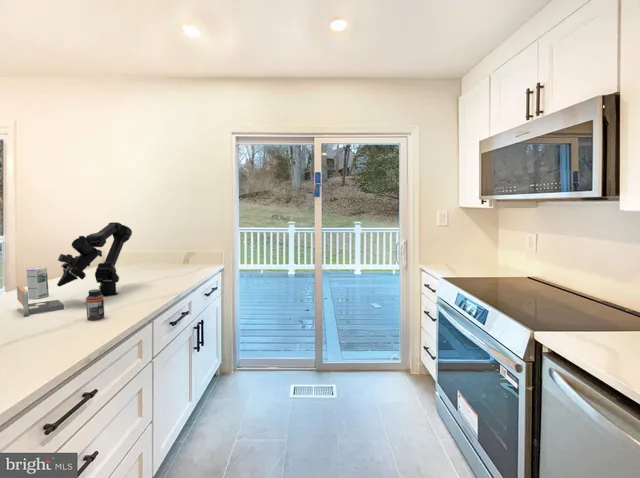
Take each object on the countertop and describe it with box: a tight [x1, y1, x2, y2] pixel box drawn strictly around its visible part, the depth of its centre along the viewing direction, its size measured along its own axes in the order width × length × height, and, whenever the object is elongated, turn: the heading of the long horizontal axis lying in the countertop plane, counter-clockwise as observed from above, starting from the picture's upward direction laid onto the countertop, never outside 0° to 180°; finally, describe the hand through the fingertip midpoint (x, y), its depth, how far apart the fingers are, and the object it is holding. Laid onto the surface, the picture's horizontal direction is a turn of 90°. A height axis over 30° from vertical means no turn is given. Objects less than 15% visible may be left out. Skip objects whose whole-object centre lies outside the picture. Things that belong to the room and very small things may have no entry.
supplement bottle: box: [85, 288, 105, 321], centre depth 147 cm, size 6×6×11 cm
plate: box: [22, 290, 65, 317], centre depth 158 cm, size 14×14×10 cm
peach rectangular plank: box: [16, 284, 28, 306], centre depth 155 cm, size 2×14×6 cm, turn 46°
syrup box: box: [25, 266, 50, 300], centre depth 179 cm, size 6×6×14 cm
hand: (58, 285), depth 164 cm, fingers closed
